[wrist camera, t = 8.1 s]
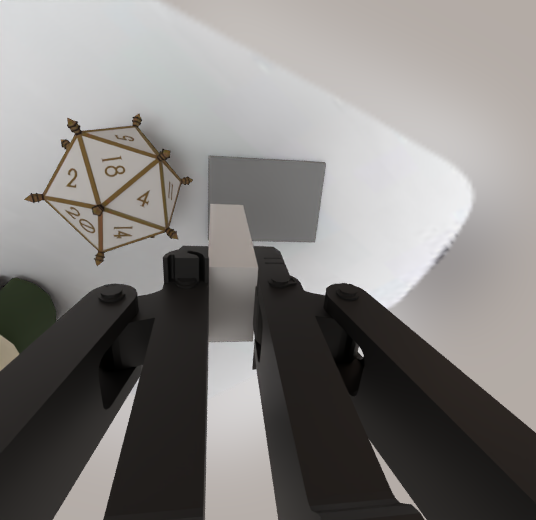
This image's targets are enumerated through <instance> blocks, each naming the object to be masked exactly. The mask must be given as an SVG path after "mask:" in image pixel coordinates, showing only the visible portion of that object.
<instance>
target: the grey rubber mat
mask: <svg viewBox="0 0 536 520" xmlns="http://www.w3.org/2000/svg"><path fill="white" fill-rule="evenodd" d="M325 167H326V163H324V162H310V161H293V160H275V159H258V158H240V157H223V156H209V175H208V240H209V224H210V204H231V205H243V207H244V211H245V215H246V219H247V223H248V228H249V232H250V236H251V240H252V241H277V242H315V238H316V231H317V224H318V217H319V210H320V203H321V195H322V188H323V181H324V174H325Z"/></svg>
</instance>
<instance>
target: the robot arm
mask: <svg viewBox="0 0 536 520" xmlns="http://www.w3.org/2000/svg"><path fill="white" fill-rule="evenodd" d="M163 269H164V285H163V289H162V290H160V291H158V292H155V293H152V294H148V295H143V296H137V292H136V289H134V288H133V287H131V286H128V285H124V284H111V285H109V284H108V285H104V286H101V287H99V288H96V289H94V290H92V291H91V292H89V293H88V294H87V295H86V296H85V297H83V298H82V299H81V300H80V301H79V302H78V303H77V304H76V305H74V306H73V307H72V308H71V309H70V310H69V311H68V312H67V313H65V314H64V315H63V316H62V317H61V318H60V319H59V320H57V321H56V322H55V323H54V324H53V325H52V326H51V327H50V328H48V329H47V330H46V331H45V332H44V333H43V334H42V335H41V336H39V337H38V338H37V339H36V340H35V341H34V342H33V343H32V344H30V345H29V346H28V347H27V348H26V349H25V350H24V351H22V352H21V353H20V354H19V355H18V356H17V357H16V358H15V359H13V360H12V361H11V362H10V363H9V364H8V365H7V366H6V367H4V368H3V369H2V370H1V371H0V520H53V518H54V516H55V515H56V513H57V511H58V510H59V508H60V506H61V505H62V503H63V502H64V500H65V498H66V497H67V495H68V493H69V492H70V490H71V489H72V487H73V485H74V484H75V482H76V480H77V479H78V477H79V475H80V474H81V472H82V470H83V469H84V467H85V465H86V464H87V462H88V461H89V459H90V457H91V456H92V454H93V452H94V450H95V449H96V447H97V446H98V444H99V442H100V441H101V439H102V438H103V436H104V434H105V433H106V431H107V429H108V428H109V426H110V424H111V423H112V421H113V419H114V418H115V416H116V414H117V413H118V411H119V410H120V408H121V406H122V405H123V403H124V401H125V399H126V398H127V396H128V395H129V393H130V391H131V390H132V388H133V387H134V385H135V383H136V382H137V380H138V378H139V377H140V379H139V383H138V387H137V391H136V395H135V399H134V402H133V406H132V410H131V414H130V418H129V422H128V426H127V430H126V434H125V437H124V442H123V445H122V449H121V453H120V457H119V461H118V465H117V469H116V473H115V477H114V480H113V484H112V488H111V492H110V496H109V500H108V504H107V508H106V512H105V516H104V519H103V520H205V487H206V437H207V390H208V342H238V341H253V333H254V335H255V342H254V356H253V369H252V370H254V369H257V376H258V383H259V389H260V396H261V403H262V409H263V416H264V423H265V430H266V437H267V445H268V451H269V458H270V465H271V472H272V479H273V486H274V493H275V500H276V506H277V513H278V520H424V518H423V517H422V515H421V513H420V512H419V511H418V510H417V509H415V508H414V507H413V506H412V505H411V504H403V503H400V502H399V501H398V500H397V499H396V498H395V497H394V495H393V493H392V491H391V489H390V487H389V484H388V482H387V480H386V478H385V475H384V473H383V471H382V468H381V466H380V464H379V462H378V459H377V457H376V455H375V452H374V450H373V448H372V446H371V443H372V444H373V445H374V447H375V448H376V449H377V451H378V452H379V454H380V455H381V456H382V458H383V459H384V460H385V462H386V463H387V465H388V466H389V468H390V469H391V470H392V472H393V473H394V474H395V476H396V477H397V479H398V480H399V481H400V483H401V484H402V486H403V487H404V488H405V490H406V491H407V493H408V494H409V496H410V497H411V498H412V500H413V501H414V503H415V504H416V505H417V507H418V508H419V510H420V511H421V512H422V514H423V515H424V517H425V518H426V519H427V520H536V433H535V432H534V431H533V430H532V429H530V428H529V427H528V426H527V425H526V424H524V423H523V422H522V421H521V420H520V419H518V418H517V417H516V416H515V415H514V414H512V413H511V412H510V411H509V410H507V409H506V408H505V407H504V406H503V405H502V404H500V403H499V402H498V401H497V400H495V399H494V398H493V397H492V396H491V395H490V394H488V393H487V392H486V391H485V390H484V389H482V388H481V387H480V386H479V385H478V384H476V383H475V382H474V381H473V380H472V379H470V378H469V377H468V376H467V375H465V374H464V373H463V372H462V371H461V370H459V369H458V368H457V367H456V366H455V365H453V364H452V363H451V362H450V361H449V360H447V359H446V358H445V357H444V356H442V355H441V354H440V353H439V352H438V351H437V350H435V349H434V348H433V347H432V346H431V345H429V344H428V343H427V342H426V341H425V340H423V339H422V338H421V337H420V336H419V335H417V334H416V333H415V332H414V331H412V330H411V329H410V328H409V327H408V326H407V325H405V324H404V323H403V322H402V321H400V320H399V319H398V318H397V317H396V316H394V315H393V314H392V313H391V312H390V311H389V310H387V309H386V308H385V307H384V306H383V305H381V304H380V303H379V302H378V301H377V300H375V299H374V298H373V297H372V296H370V295H369V294H368V293H367V292H366V291H364V290H362V289H361V288H359V287H356V286H354V285H352V284H347V283H342V284H333V285H330V286H329V287H328V288H326V294H325V295H320V294H314V293H310V292H306V291H304V290H303V288H302V285H301V283H300V282H299V281H298V279H296V278H294V277H292V276H290V275H289V273H288V270H287V268H286V265H285V263H284V260H283V258H282V255H281V253H280V251H278V250H277V249H276V248H274V247H264V246H253V244H252V240H251V236H250V232H249V228H248V223H247V219H246V215H245V211H244V207H243V205H231V204H210V224H209V246H182V247H181V248H180V249H179V250H175V251H171V252H169V253H167V254H165V256H164V257H163ZM359 347H360V348H361V350H362V352H363V354H364V357H362V356H361V355H360V354H359V353H358V348H359ZM368 438H369V439H368ZM369 440H370V441H371V443H370V441H369Z"/></svg>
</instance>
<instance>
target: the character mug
mask: <svg viewBox="0 0 536 520" xmlns="http://www.w3.org/2000/svg"><path fill="white" fill-rule="evenodd" d="M55 322H56V310H55V307H54V305H53V302H52V300H51V298H50V295H48V294H47V293H46V292H45V291H43V290H42V289H41V288H40V287H38V286H37V285H36V284H34V283H31V282H28V281H25V280H22V279H19V278H12V279H11V280H10V281H9V282H8V283H7V284H6V285H5V286H4V287H0V371H1V370H2V369H3V368H4V367H6V366H7V365H8V364H9V363H10V362H11V361H12V360H13V359H15V358H16V357H17V356H18V355H19V354H20V353H21V352H22V351H24V350H25V349H26V348H27V347H28V346H29V345H30V344H32V343H33V342H34V341H35V340H36V339H37V338H38V337H39V336H41V335H42V334H43V333H44V332H45V331H46V330H47V329H48V328H50V327H51V326H52V325H53V324H54V323H55Z"/></svg>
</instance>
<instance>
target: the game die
mask: <svg viewBox="0 0 536 520" xmlns="http://www.w3.org/2000/svg"><path fill="white" fill-rule="evenodd" d="M67 119H68V125H67V126H68V128H70V130H71V131H72V132H74V133H75V135H74V137H73V139H72V141H71V143H70V142H69V141H68V140H61V144H62V147H64V148H65V149H67V150H66V152H65V154H64V156H63V157H62V159H61V161H60V163H59V165H58V167H57V169H56V170H55V172H54V174H53V176H52V178H51V180H50V181H49V183H48V185H47V187H46V189H45V191H44V193H43V194H37V193H36V194H32V193H31V195H29V196H28V197H27V198H25V199H24V200H27V201H31V202H33V203H34V202H39V201H41V200H45V201H46V202H47V203H48V204H49V205H50V206H51V207H52V208H53V209H54V210H55V211H56V212H57V213H58V214H60V215H61V216H62V217H63V218H64V219H65V220H66V221H67V222H68V223H69V224H70V225H71V226H72V227H73V228H74V229H75V230H77V231H78V232H79V233H80V234H81V235H82V236H83V237H84V238H85V239H86V240H87V241H88V242H89V243H90V244H91V245H93V246H94V247H95V248H96V249H97V250H98V253H97V255H95V256H96V258H94V259H95V261H96V265H97V266H98V265H99V264H100V263H102V262H103V259H104V258H105V257H104V252H107V251H110V250H113V249H116V248H119V247H122V246H125V245H128V244H131V243H134V242H137V241H140V240H143V239H146V238H149V237H151V238H154V236H155V235H158V234H161V233H164V232H166V233H167V235H168V236H170V238H171V239H172V238H174V239H178V237H177V231H176V232H175V231H174V229H170V228H169V226H170V222H171V219H172V215H173V211H174V208H175V204H176V200H177V197H178V193H179V189H180V186H181V184H184V185H186V184H188V185H189V183H190V182H192V181H193V180H192V179H190V178H189V177H186V178H185V177H184V178H183V179H180V178H179V176H178V175H177V174H176V173H175V172H174V170H173V169H172V168H171V167H170V166H169V164H168V163H167V162H166V161H165V160H167V158H170V151H169V150H164V149H163V150H162V152H161V151H160V153H159V152H158V151H157V150H156V149H155V147H154V146H153V145H152V144H151V143H150V141H149V140H148V139H147V138H146V137H145V135H144V134H143V133H142V132H141V131H140V129H139V128H138V126H139V125H140V124H141V121H142V120H141V117H140V114H138V115H136V116H135V117H133V120H132V122H133V126H126V127H116V128H106V129H96V130H87V131H81V130H80V125H78V124H77V123H78V122H77V121H73V120H71V119H69V118H67Z"/></svg>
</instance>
